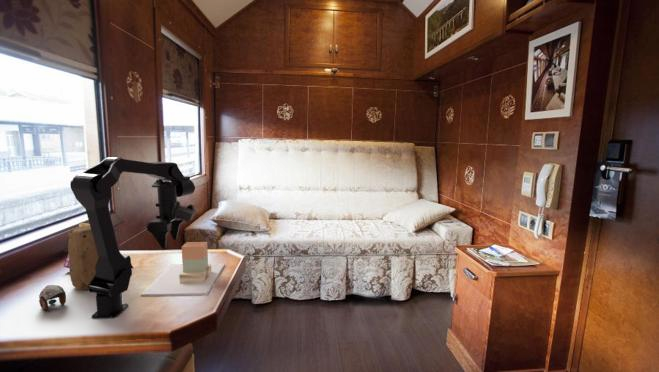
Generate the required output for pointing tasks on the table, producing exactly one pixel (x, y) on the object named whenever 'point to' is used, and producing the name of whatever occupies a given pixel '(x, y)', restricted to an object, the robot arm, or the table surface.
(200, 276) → the foundation slab
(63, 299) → the helmet
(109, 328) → the table surface
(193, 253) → the terracotta block
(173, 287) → the baseplate
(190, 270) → the sage block
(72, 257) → the block
